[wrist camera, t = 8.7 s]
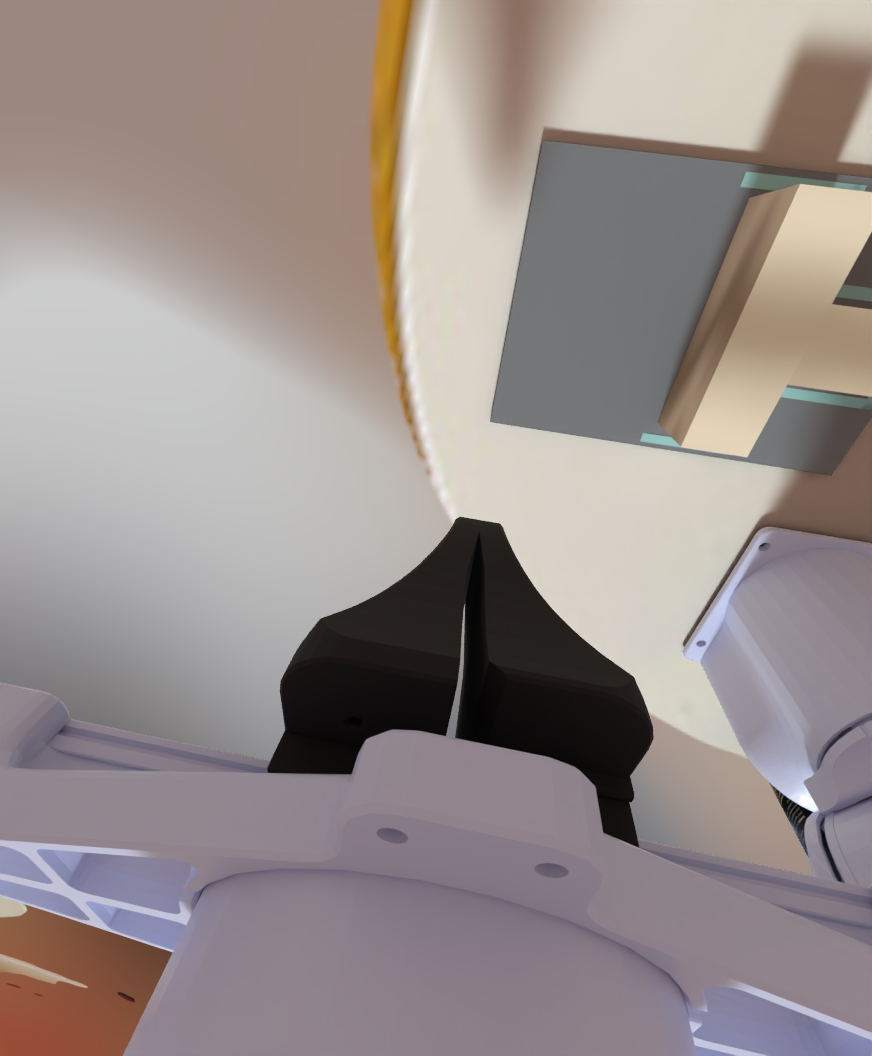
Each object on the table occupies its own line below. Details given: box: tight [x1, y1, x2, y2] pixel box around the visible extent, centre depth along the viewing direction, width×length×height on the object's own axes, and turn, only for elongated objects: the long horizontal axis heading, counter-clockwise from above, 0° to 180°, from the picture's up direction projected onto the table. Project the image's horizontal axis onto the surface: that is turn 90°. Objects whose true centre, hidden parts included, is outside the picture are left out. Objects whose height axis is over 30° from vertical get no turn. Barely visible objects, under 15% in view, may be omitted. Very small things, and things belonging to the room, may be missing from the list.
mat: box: [490, 140, 872, 475], centre depth 17 cm, size 10×16×1 cm, turn 84°
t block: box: [658, 184, 872, 457], centre depth 15 cm, size 8×7×3 cm
